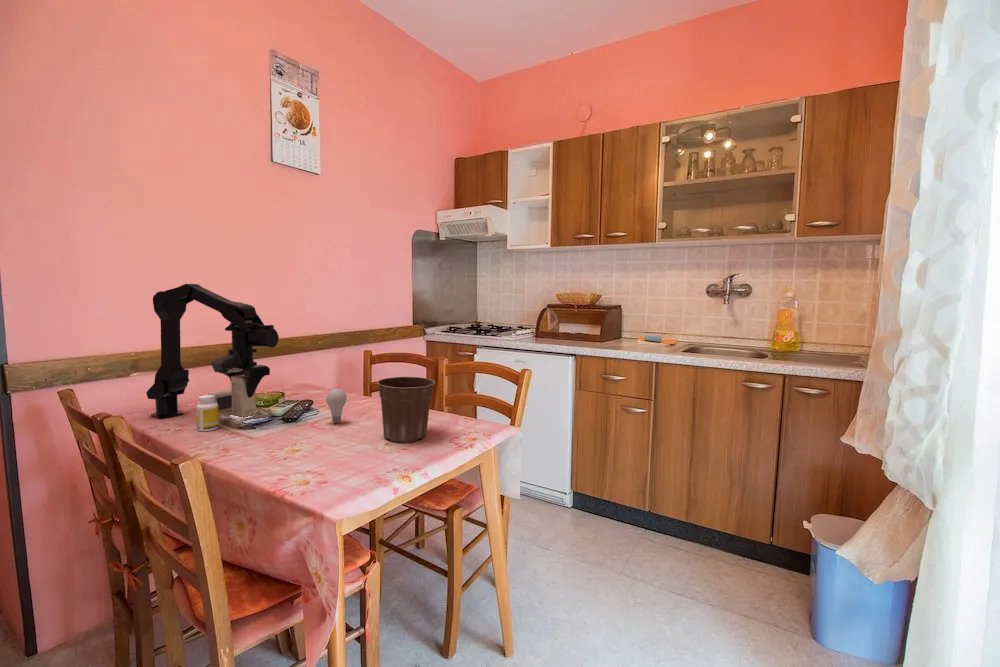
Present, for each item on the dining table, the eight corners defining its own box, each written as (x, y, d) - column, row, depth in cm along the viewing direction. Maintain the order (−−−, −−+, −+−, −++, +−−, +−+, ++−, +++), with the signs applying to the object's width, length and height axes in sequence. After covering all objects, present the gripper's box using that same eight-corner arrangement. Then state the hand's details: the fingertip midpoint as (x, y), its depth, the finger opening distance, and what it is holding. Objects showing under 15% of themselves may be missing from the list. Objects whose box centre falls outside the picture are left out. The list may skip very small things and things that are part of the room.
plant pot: (429, 426, 140) (429, 375, 138) (439, 443, 124) (439, 386, 123) (375, 429, 134) (375, 377, 133) (378, 448, 119) (378, 388, 118)
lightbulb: (338, 427, 136) (338, 391, 135) (321, 424, 138) (321, 389, 137) (351, 421, 142) (350, 387, 141) (335, 419, 144) (334, 385, 143)
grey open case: (196, 416, 143) (195, 393, 142) (231, 409, 152) (231, 387, 152) (236, 429, 131) (235, 404, 131) (271, 420, 141) (271, 397, 140)
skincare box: (256, 415, 139) (256, 376, 138) (242, 418, 135) (242, 378, 134) (245, 411, 142) (244, 373, 141) (231, 414, 138) (230, 375, 137)
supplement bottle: (223, 426, 133) (222, 394, 132) (209, 432, 128) (208, 398, 127) (206, 425, 134) (205, 393, 133) (192, 431, 129) (191, 397, 128)
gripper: (198, 345, 134) (199, 396, 136) (233, 351, 125) (234, 405, 127) (235, 342, 144) (236, 389, 145) (270, 347, 135) (271, 398, 136)
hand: (243, 395), depth 138 cm, fingers closed on skincare box, 6 cm apart
